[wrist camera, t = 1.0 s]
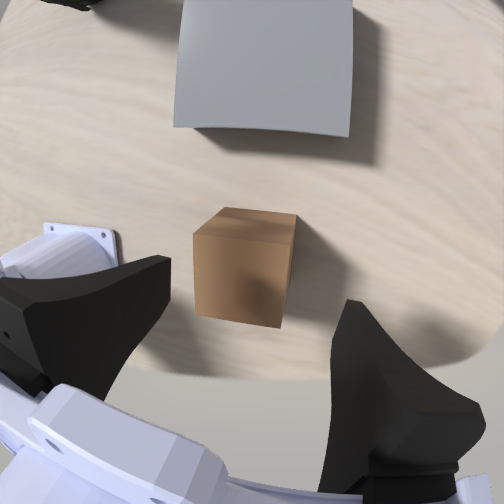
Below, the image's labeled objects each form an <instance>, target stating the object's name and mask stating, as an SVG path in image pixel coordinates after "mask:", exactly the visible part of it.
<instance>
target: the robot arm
mask: <svg viewBox="0 0 504 504" xmlns="http://www.w3.org/2000/svg"><path fill="white" fill-rule="evenodd" d="M43 227H44V233H43V234H41V235H39V236H37V237H35V238H33V239H31V240H29V241H28V242H26V243H24V244H22V245H20V246H18V247H16V248H14V249H12V250H10V251H9V252H7V253H5V254H4V255H3V256H2V257H1V258H0V442H1V443H2V444H3V445H4V446H5V447H6V448H7V449H8V450H9V451H10V452H11V453H12V454H13V455H14V456H15V457H14V458H13V460H12V461H11V462H10V463H9V465H8V466H7V467H6V469H5V470H4V471H3V473H2V474H1V475H0V504H494V502H493V497H492V491H491V486H490V482H489V477H488V474H487V473H484V474H479V475H474V476H468V477H464V478H461V479H459V480H457V481H455V478H454V473H456V472H457V471H458V470H459V466H458V460H459V459H460V458H461V457H462V456H464V455H465V454H466V453H467V451H469V450H470V449H471V448H472V447H473V446H474V445H475V444H476V443H477V442H478V441H479V440H480V438H481V437H482V435H483V433H484V431H485V428H486V422H485V420H484V416H483V414H482V411H481V408H480V405H479V403H477V402H475V401H473V400H471V399H469V398H467V397H465V396H463V395H461V394H458V393H457V392H455V391H453V390H452V389H450V388H449V387H447V386H445V385H444V384H442V383H441V382H439V381H438V380H436V379H435V378H433V377H432V376H431V375H429V374H428V373H427V372H426V371H424V370H423V369H422V368H421V367H419V366H418V365H417V364H416V363H415V362H414V361H413V360H412V359H411V358H409V357H408V356H407V355H406V354H405V353H404V352H403V351H402V350H401V349H400V348H399V347H398V345H397V344H396V343H395V342H394V341H393V340H392V339H391V338H390V336H389V335H388V334H387V333H386V332H385V330H384V329H383V328H382V327H381V325H380V324H379V323H378V322H377V320H376V319H375V318H374V316H373V315H372V314H371V313H370V311H369V310H368V309H367V308H366V306H365V305H364V304H363V303H362V302H358V301H354V300H349V299H347V301H346V304H345V307H344V310H343V312H342V315H341V318H340V321H339V323H338V326H337V329H336V331H335V334H334V336H333V339H332V347H331V358H330V369H331V403H332V407H331V421H330V430H329V437H328V444H327V450H326V456H325V461H324V466H323V470H322V475H321V479H320V484H319V487H318V491H317V492H310V491H302V490H295V489H288V488H282V487H276V486H270V485H265V484H260V483H255V482H251V481H246V480H242V479H238V478H234V477H230V476H228V471H227V469H226V467H225V464H224V462H223V461H222V459H221V458H220V457H219V456H217V455H216V454H215V453H213V452H212V451H211V450H209V449H208V448H207V447H205V446H204V445H202V444H200V443H198V442H196V441H193V440H191V439H189V438H187V437H185V436H183V435H181V434H178V433H175V432H172V431H170V430H167V429H164V428H162V427H159V426H156V425H154V424H152V423H149V422H147V421H145V420H142V419H140V418H137V417H135V416H133V415H130V414H128V413H126V412H124V411H122V410H120V409H118V408H116V407H113V406H111V405H109V404H107V403H105V402H104V400H105V398H106V396H107V394H108V392H109V390H110V388H111V386H112V384H113V382H114V381H115V379H116V377H117V375H118V373H119V372H120V370H121V368H122V367H123V365H124V363H125V362H126V360H127V359H128V357H129V356H130V354H131V353H132V352H133V350H134V349H135V348H136V347H137V345H138V344H139V343H140V342H141V341H142V339H143V338H144V337H145V336H146V334H147V333H148V332H149V331H150V329H151V328H152V327H153V326H154V324H155V323H156V322H157V321H158V319H159V318H160V317H161V315H162V313H163V312H164V310H165V309H166V307H167V305H168V303H169V301H170V291H171V258H169V257H165V256H161V255H155V256H150V257H147V258H143V259H140V260H136V261H133V262H130V263H127V264H124V265H120V266H118V258H117V250H116V242H115V234H114V232H113V230H111V229H106V228H97V227H88V226H79V225H71V224H62V223H53V222H46V223H44V226H43ZM104 233H105V235H106V236H105V235H104Z"/></svg>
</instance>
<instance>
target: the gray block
mask: <svg viewBox="0 0 504 504" xmlns="http://www.w3.org/2000/svg"><path fill="white" fill-rule="evenodd" d="M352 73H353V1H352V0H184V4H183V12H182V20H181V28H180V37H179V47H178V58H177V71H176V85H175V102H174V125H173V127H178V128H237V129H260V130H275V131H288V132H299V133H309V134H318V135H327V136H335V137H342V138H345V137H349V127H350V113H351V96H352Z"/></svg>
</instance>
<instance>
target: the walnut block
mask: <svg viewBox="0 0 504 504" xmlns="http://www.w3.org/2000/svg"><path fill="white" fill-rule="evenodd" d="M296 218H297V215H295V214H286V213H277V212H268V211H258V210H249V209H238V208H228V207H224V208H223V209H222V210H221V211H220V212H218V213H217V214H216V215H215V216H214V217H212V218H211V219H210V220H209V221H208V222H206V223H205V224H204V225H203V226H202V227H200V228H199V229H198V230H197V231H196V232H195V233H193V260H194V290H195V312H196V315H200V316H206V317H211V318H217V319H222V320H228V321H234V322H240V323H246V324H252V325H259V326H265V327H272V328H279V329H280V328H281V323H282V318H283V313H284V307H285V302H286V297H287V291H288V286H289V280H290V272H291V264H292V255H293V246H294V237H295V228H296Z"/></svg>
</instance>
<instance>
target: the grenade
mask: <svg viewBox="0 0 504 504" xmlns="http://www.w3.org/2000/svg"><path fill="white" fill-rule="evenodd" d="M41 1H44V2H47V3H54V4H60V5H63V6H69V7H72V8H75V9H77V10H80V11H89V10H91V8H89V7H86V6H88V5H91V4H94V3H97V2H99V1H101V0H41Z"/></svg>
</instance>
